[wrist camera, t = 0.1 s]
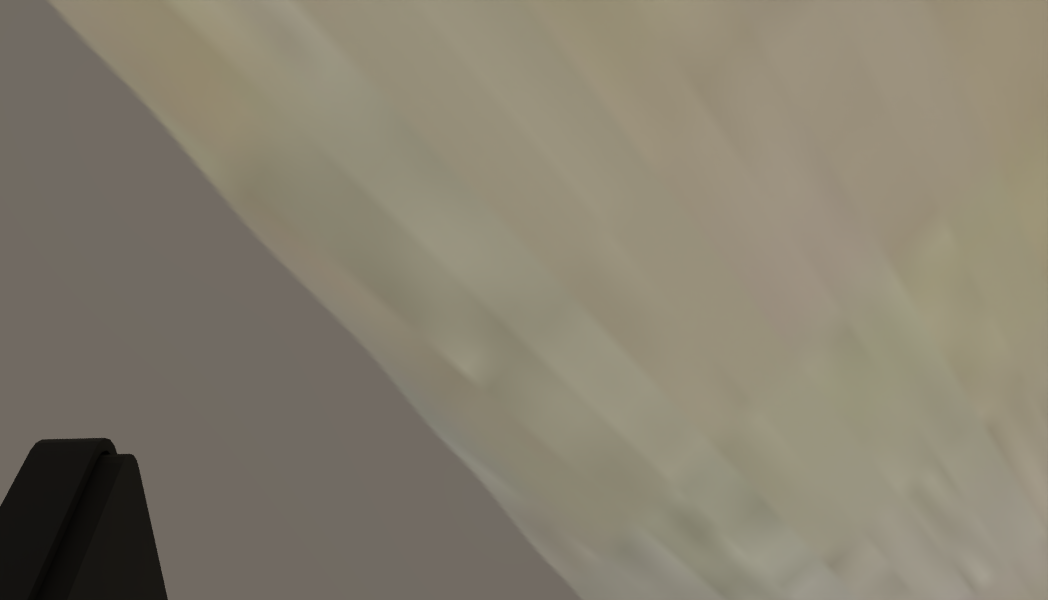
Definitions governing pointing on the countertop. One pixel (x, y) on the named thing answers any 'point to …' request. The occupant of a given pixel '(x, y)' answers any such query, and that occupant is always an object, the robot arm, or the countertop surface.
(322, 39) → the countertop surface
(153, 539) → the robot arm
